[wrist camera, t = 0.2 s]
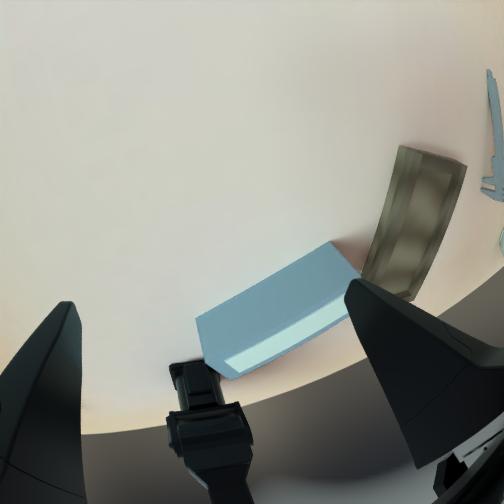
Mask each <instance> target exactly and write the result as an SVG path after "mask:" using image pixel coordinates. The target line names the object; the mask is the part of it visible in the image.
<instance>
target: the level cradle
mask: <svg viewBox="0 0 504 504" xmlns="http://www.w3.org/2000/svg"><path fill="white" fill-rule="evenodd" d="M466 170H467V166H466V165H464V164H462V163H460V162H458V161H456V160H454V159H450V158H447V157H443V156H440V155H436V154H432V153H428V152H424V151H420V150H416V149H412V148H408V147H403V146H399V148H398V153H397V157H396V162H395V166H394V170H393V174H392V178H391V182H390V186H389V190H388V194H387V197H386V201H385V204H384V208H383V211H382V215H381V218H380V221H379V224H378V228H377V231H376V234H375V237H374V240H373V243H372V246H371V249H370V252H369V255H368V258H367V261H366V263H365V266H364V269H363V272H362V274H361V278H364V279H366V280H368V281H370V282H371V283H373V284H375V285H377V286H379V287H381V288H383V289H385V290H387V291H389V292H390V293H392V294H394V295H396V296H398V297H400V298H402V299H403V300H405V301H407V302H411V301H414V299H415V297H416V295H417V293H418V291H419V290H420V288H421V286H422V284H423V282H424V280H425V278H426V276H427V273H428V271H429V269H430V267H431V265H432V263H433V261H434V258H435V256H436V254H437V252H438V249H439V247H440V245H441V242H442V240H443V237H444V235H445V232H446V230H447V227H448V225H449V222H450V219H451V217H452V214H453V211H454V208H455V206H456V203H457V200H458V197H459V193H460V190H461V187H462V184H463V180H464V177H465V174H466Z"/></svg>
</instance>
